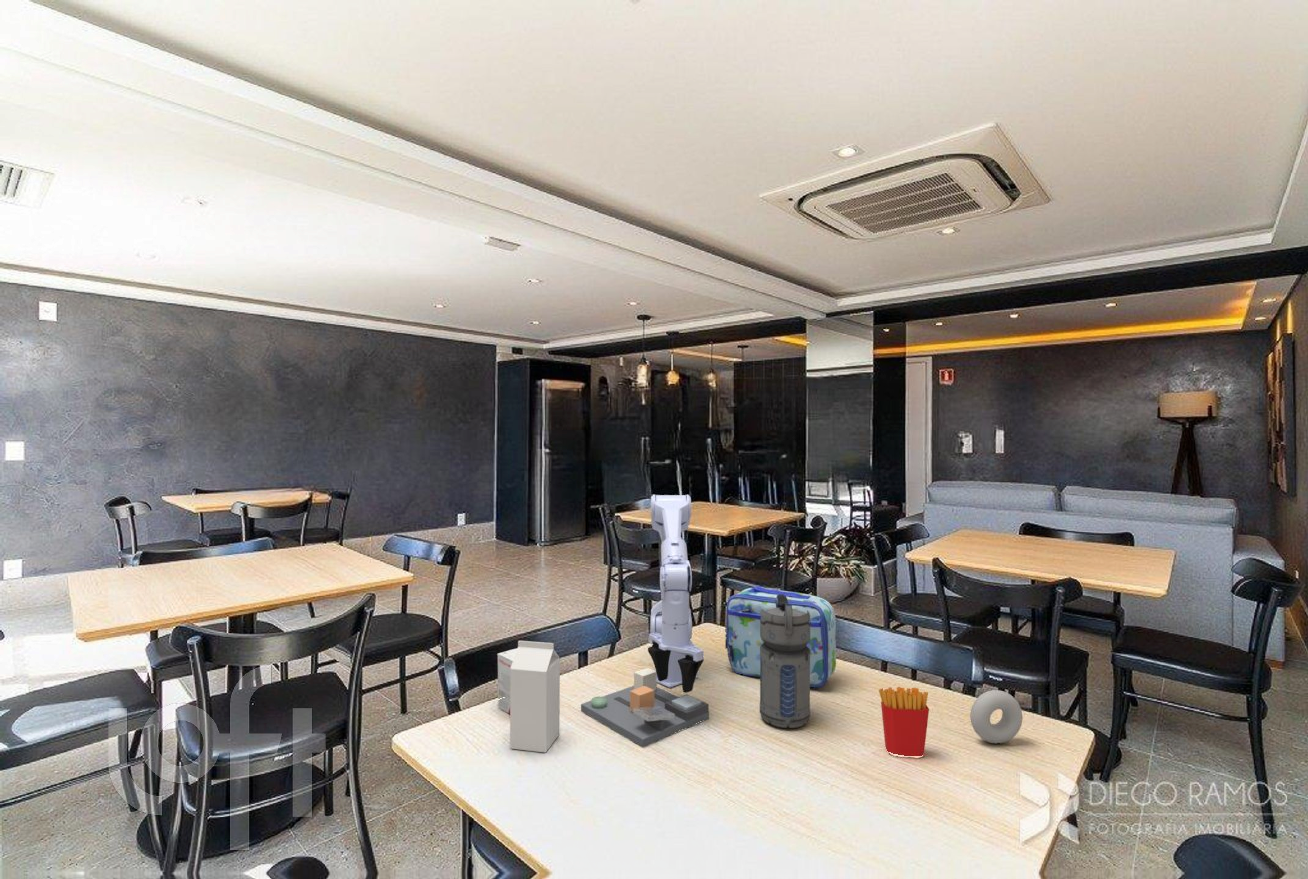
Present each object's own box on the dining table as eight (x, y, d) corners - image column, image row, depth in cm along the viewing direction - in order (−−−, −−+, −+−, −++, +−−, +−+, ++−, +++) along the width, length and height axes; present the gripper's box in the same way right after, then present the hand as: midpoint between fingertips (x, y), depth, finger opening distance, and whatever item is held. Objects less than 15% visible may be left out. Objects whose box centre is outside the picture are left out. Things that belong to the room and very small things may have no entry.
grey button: (686, 702, 129) (686, 694, 129) (701, 709, 125) (701, 701, 125) (671, 708, 126) (671, 700, 126) (686, 715, 122) (686, 707, 122)
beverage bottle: (803, 704, 132) (803, 589, 132) (814, 734, 119) (815, 606, 119) (756, 702, 133) (756, 588, 133) (762, 732, 120) (763, 605, 120)
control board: (645, 688, 141) (645, 674, 141) (709, 718, 126) (709, 703, 126) (581, 711, 129) (581, 696, 129) (643, 747, 114) (643, 730, 114)
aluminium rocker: (658, 711, 123) (659, 706, 123) (673, 719, 119) (674, 713, 120) (632, 713, 118) (633, 707, 118) (647, 721, 115) (648, 715, 115)
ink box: (539, 714, 127) (539, 657, 127) (518, 721, 124) (518, 663, 124) (517, 700, 134) (517, 647, 133) (496, 707, 130) (496, 652, 130)
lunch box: (720, 672, 150) (720, 587, 150) (738, 659, 159) (738, 579, 159) (825, 697, 136) (826, 603, 136) (838, 680, 146) (839, 593, 146)
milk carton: (546, 753, 111) (546, 649, 111) (509, 749, 113) (510, 647, 113) (559, 735, 118) (560, 637, 118) (525, 731, 120) (525, 634, 120)
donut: (977, 748, 114) (977, 695, 114) (965, 739, 117) (966, 687, 117) (1026, 746, 115) (1027, 693, 115) (1014, 737, 119) (1014, 685, 118)
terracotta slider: (644, 704, 128) (644, 685, 128) (654, 709, 126) (654, 690, 126) (630, 710, 125) (630, 690, 125) (639, 715, 123) (639, 695, 123)
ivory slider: (647, 685, 138) (647, 667, 138) (656, 689, 135) (656, 671, 135) (634, 690, 135) (634, 672, 135) (642, 694, 133) (643, 676, 133)
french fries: (923, 748, 114) (924, 684, 114) (930, 759, 110) (931, 693, 110) (876, 745, 115) (877, 682, 115) (881, 756, 111) (882, 690, 111)
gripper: (638, 616, 131) (638, 679, 131) (686, 633, 120) (685, 702, 120) (662, 610, 136) (662, 671, 136) (710, 626, 125) (710, 692, 125)
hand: (674, 685), depth 128 cm, fingers open, 7 cm apart
